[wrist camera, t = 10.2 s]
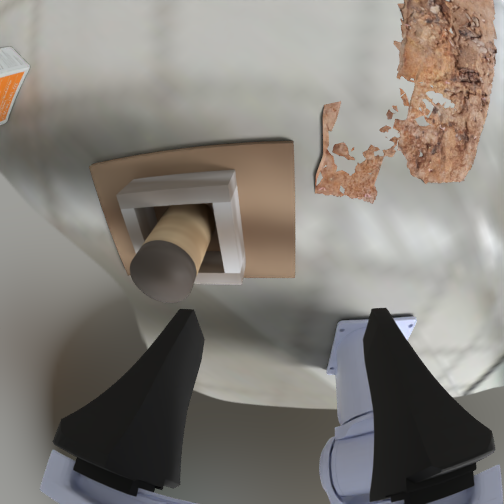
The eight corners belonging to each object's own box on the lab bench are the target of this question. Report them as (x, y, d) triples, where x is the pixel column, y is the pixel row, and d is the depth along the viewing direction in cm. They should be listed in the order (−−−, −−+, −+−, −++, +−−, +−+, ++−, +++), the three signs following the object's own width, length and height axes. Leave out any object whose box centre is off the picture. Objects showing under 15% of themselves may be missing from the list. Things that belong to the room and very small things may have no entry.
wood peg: (219, 241, 20) (198, 304, 15) (173, 242, 20) (142, 301, 15) (211, 195, 18) (182, 251, 13) (162, 199, 18) (120, 252, 13)
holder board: (294, 272, 21) (295, 300, 19) (130, 270, 23) (116, 294, 21) (293, 140, 16) (295, 155, 13) (93, 163, 17) (69, 180, 15)
